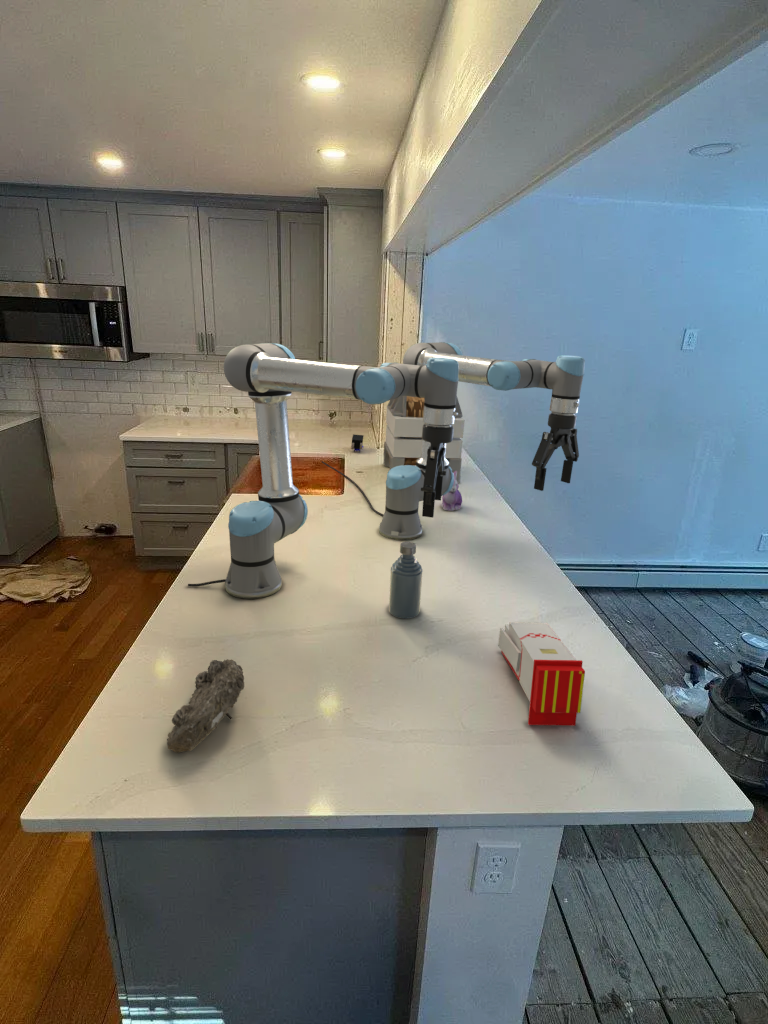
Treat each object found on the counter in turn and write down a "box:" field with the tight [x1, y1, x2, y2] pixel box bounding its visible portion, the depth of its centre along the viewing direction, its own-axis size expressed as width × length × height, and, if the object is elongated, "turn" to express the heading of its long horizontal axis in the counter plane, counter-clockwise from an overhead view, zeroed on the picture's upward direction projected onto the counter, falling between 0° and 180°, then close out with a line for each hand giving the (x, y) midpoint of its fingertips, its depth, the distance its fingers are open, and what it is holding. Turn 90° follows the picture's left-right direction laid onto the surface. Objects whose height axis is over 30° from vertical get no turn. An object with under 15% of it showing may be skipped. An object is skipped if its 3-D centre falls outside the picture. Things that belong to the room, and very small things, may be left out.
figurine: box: [441, 471, 463, 512], centre depth 226 cm, size 9×10×15 cm
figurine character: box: [351, 433, 365, 453], centre depth 312 cm, size 7×8×15 cm
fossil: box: [166, 658, 245, 754], centre depth 106 cm, size 22×10×15 cm
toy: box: [497, 621, 586, 727], centre depth 121 cm, size 12×13×30 cm
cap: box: [399, 540, 417, 556], centre depth 143 cm, size 4×4×2 cm
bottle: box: [388, 553, 424, 619], centre depth 146 cm, size 8×8×18 cm
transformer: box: [383, 396, 465, 484], centre depth 268 cm, size 34×33×41 cm
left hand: (431, 507), depth 144 cm, fingers open, 13 cm apart
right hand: (552, 485), depth 166 cm, fingers open, 13 cm apart
